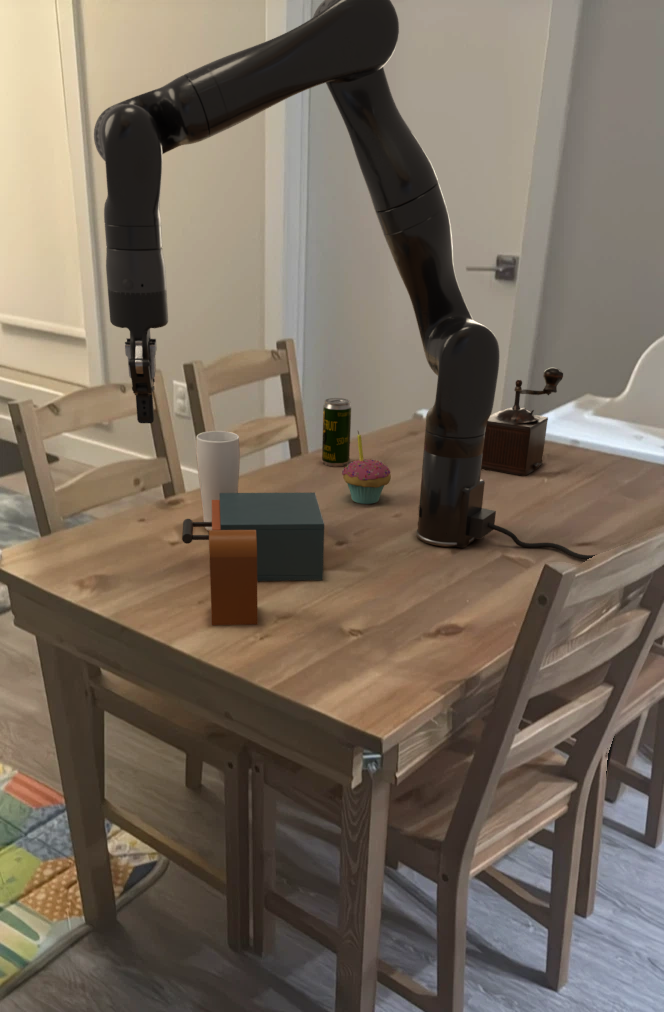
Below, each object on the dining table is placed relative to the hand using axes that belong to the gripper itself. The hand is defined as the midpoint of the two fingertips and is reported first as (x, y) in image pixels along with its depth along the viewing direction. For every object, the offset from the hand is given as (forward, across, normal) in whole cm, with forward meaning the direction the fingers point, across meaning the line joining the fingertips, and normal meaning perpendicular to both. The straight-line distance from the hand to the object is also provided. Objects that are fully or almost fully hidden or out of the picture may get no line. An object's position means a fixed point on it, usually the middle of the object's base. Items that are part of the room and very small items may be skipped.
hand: (146, 421), depth 136 cm
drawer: (+20, 0, -13) cm, 24 cm away
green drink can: (+21, +52, -33) cm, 65 cm away
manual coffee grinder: (+21, +51, -69) cm, 89 cm away
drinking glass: (+21, +15, -10) cm, 28 cm away
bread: (+21, -19, -11) cm, 30 cm away
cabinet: (+21, 0, -17) cm, 27 cm away
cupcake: (+21, +29, -36) cm, 51 cm away
